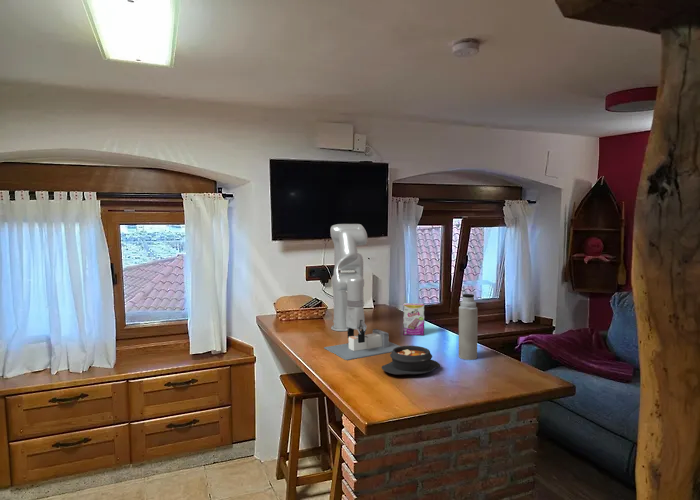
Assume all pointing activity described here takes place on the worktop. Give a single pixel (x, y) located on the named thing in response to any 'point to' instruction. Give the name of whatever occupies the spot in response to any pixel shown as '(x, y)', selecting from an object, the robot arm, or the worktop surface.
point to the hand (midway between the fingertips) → (356, 340)
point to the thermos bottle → (468, 328)
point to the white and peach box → (355, 345)
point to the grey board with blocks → (375, 346)
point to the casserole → (410, 361)
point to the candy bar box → (413, 318)
